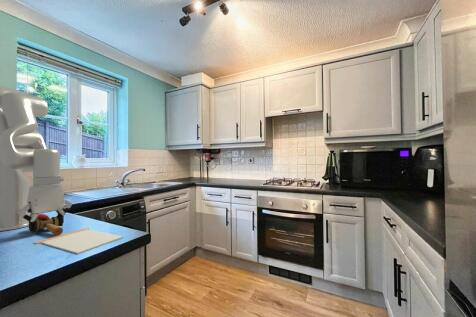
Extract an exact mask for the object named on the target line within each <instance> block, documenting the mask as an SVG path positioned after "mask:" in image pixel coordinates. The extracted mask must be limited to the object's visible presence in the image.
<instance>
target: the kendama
mask: <svg viewBox="0 0 476 317" xmlns="http://www.w3.org/2000/svg"><path fill="white" fill-rule="evenodd" d="M35 221H37V231H41V230H44V229H45V228H46V230H48V232H50V233H51V234H52V236H53V235H54V237H56V236H60V235H63V234H62V233H63V232H64V229H63V227H62V226H58V224H59V220H58V217H56V216H51V217H50V216H49V215H47V214H45V213H40V214H39V215H38V216H37V218H36V219H35Z"/></svg>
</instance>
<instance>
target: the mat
mask: <svg viewBox="0 0 476 317" xmlns="http://www.w3.org/2000/svg"><path fill="white" fill-rule="evenodd" d="M88 229H89V228H88ZM88 229H87V230H83V231H80V232H76V233H73V234H69V235H65V236H62V237H58V238H54V239H51V240H47V241H44V242H41V243H40V244H42V245H46V246H50V247H53V248H56V249H58V250H61V251H67V252H69V253H73V254H77V255H79V254H82V253H85V252H88V251H91V250H94V249H95V248H96V249H97V248H99V247H102V246H104V245H107V244H110V243H112V242H115V241H118V240H120V239H121V240H122V239H124V236H122V235H117V234H114V233H113V234H112V233H108V232H102V231H97V230H93V229H89V230H88Z"/></svg>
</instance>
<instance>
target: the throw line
mask: <svg viewBox="0 0 476 317" xmlns="http://www.w3.org/2000/svg"><path fill="white" fill-rule="evenodd" d="M87 229H88V230H90V228H87V227H86V228H83V229H79V230H76V231H70V232H68V233H63V234H60V235H58V236H52V237H49V238H46V239H45V238H44V239H42V240H39V241H35V242H33V244H35V245H38V244H41V242H44V241H47V240H51V239H54V238H58V237H62V236H65V235H69V234H73V233H76V232H80V231H83V230H87Z"/></svg>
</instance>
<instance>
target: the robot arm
mask: <svg viewBox="0 0 476 317" xmlns="http://www.w3.org/2000/svg"><path fill="white" fill-rule="evenodd" d="M48 113H49V105H48V103H47V101H46V100H45V99H44V98H42V97H39V96H37V95H34V94H32V93H30V92H26V91H22V90H18V89H14V88H10V87H6V86H2V85H1V86H0V232H3V231H5V232H6V231H10V230H16V229H17V230H18V229H23V228H26V227H28V231H30V233H34V234H35V233H37V232H38V230H37V221H35V219H36V218H37V216H38V215H39V214H45V213H50V212H56V214H57V215H56V216H55V217H58V220H59V224H58V227H63V226H64V221H65V217H64V216H65V215H66V214H67V212H68V211H69V209H70V208H71V207H72V205H73V203H72V202H70V201H68V200H67V199H65V198H66V197H65V193H64V192H65V191H64V188H63V185H62V184H61V182H63V181H64V180H65V178H64V177H61V170H60V169H61V167H60V166H61V163H60V162H61V160H60V159H61V158H60V157H61V154H60V153H61V152H60V151H59V150H58V149H55V148H47V144H46V142H45V139H44V137H43V135H42V133H40V132H39V131H38V130H39V129H38V128H39V125H38V121H37V118H36V117H38V118H43V117H46V116H48ZM29 172H30V173H31V172H32V179H33V180H32V182H33V183H32V185H30V181H29V179H28V178H27V177H26V176H25V175H24V173H29Z"/></svg>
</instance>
